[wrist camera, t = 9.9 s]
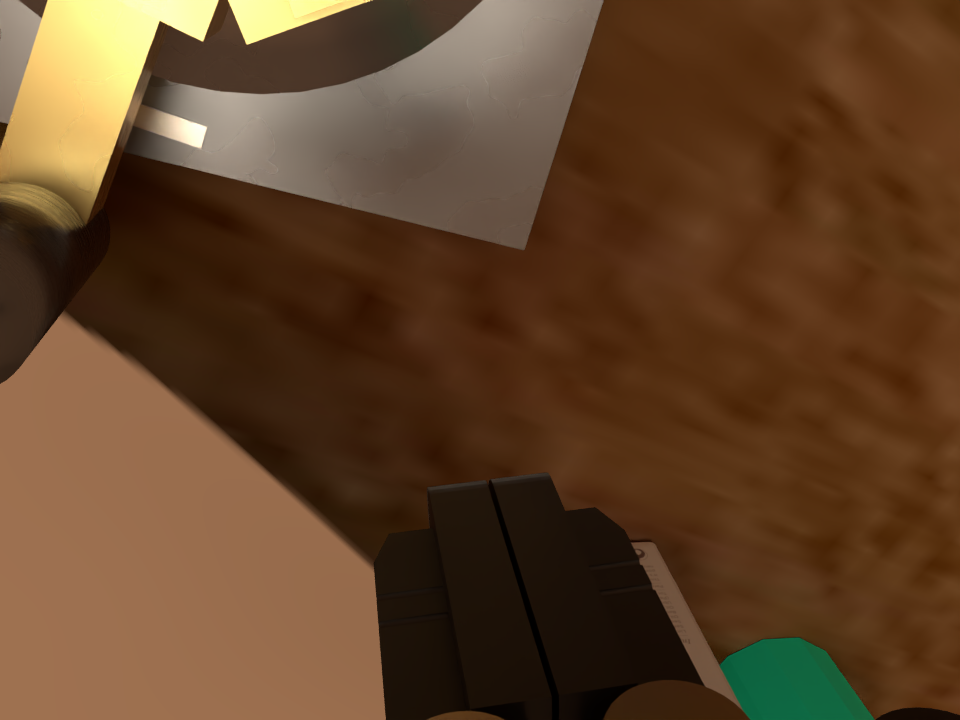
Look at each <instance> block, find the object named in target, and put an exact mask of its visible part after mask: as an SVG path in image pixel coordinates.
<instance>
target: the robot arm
mask: <svg viewBox="0 0 960 720" xmlns="http://www.w3.org/2000/svg"><path fill="white" fill-rule="evenodd" d="M427 501H428V514H429V526H430V529H423V530H415V531H407V532H399V533H391V534H389V535H388V537H387V539H386V541H385V543H384V545H383V546H382V548H381V550H380V552H379V554H378V556H377V558H376V560H375V562H374V573H375V585H376V597H377V611H378V623H379V636H380V650H381V661H382V675H383V688H384V699H385V700H384V701H385V713H386V720H750V719H749V717H748V716H747V715H746V714H745V712H744V711H743V710H742V709H740V708H739V707H738V706H737V705H736V704H735V703H734V702H732V701H731V700H730V699H728V698H727V697H725V696H724V695H722V694H720V693H718V692H716V691H714V690H712V689H710V688H707V687H706V686H705V685H704V683H703V682H702V680H701V678H700V676H699V674H698V672H697V670H696V668H695V666H694V664H693V662H692V660H691V658H690V656H689V654H688V653H687V651H686V649H685V647H684V645H683V643H682V641H681V639H680V637H679V635H678V633H677V631H676V629H675V627H674V625H673V623H672V621H671V619H670V618H669V616H668V614H667V612H666V610H665V608H664V606H663V604H662V602H661V600H660V598H659V596H658V594H657V592H656V590H655V589H654V590H653V588H652V583H651V581H650V579H649V577H648V575H647V573H646V571H645V569H644V567H643V565H640V561H639V557H638V555H637V553H636V552H635V550H634V548H633V546H632V544H631V542H630V540H629V538H628V536H627V534H626V532H625V530H624V529H622V528H621V527H620V526H619V525H617V524H616V523H615V522H613V521H612V520H611V519H610V518H608V517H607V516H606V515H604V514H603V513H602V512H601V511H599V510H598V509H597V508H595V507H594V508H586V509H578V510H570V511H565V510H564V507H563V505H562V503H561V500H560V498H559V496H558V493H557V491H556V488H555V486H554V484H553V481H552V479H551V477H550V475H549V474H548V473H539V474H531V475H523V476H514V477H506V478H498V479H490V480H489V483H488V484H487V482H486V481H485V480H483V481H475V482H467V483H459V484H450V485H442V486H434V487H427ZM876 720H960V715H957V714H954V713H950V712H947V711H942V710H937V709H932V708H903V709H899V710H894V711H891V712H889V713H886V714H884V715H882V716H880V717H879V718H877V719H876Z"/></svg>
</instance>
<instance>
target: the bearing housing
mask: <svg viewBox="0 0 960 720" xmlns="http://www.w3.org/2000/svg"><path fill="white" fill-rule="evenodd" d="M47 1H48V0H0V122H3V123H7V124H9V121H10V118H11V115H12V112H13V108H14V105H15V102H16V99H17V96H18V93H19V90H20V86H21V83H22V80H23V77H24V74H25V71H26V67H27V64H28V61H29V58H30V55H31V52H32V49H33V45H34V42H35V39H36V36H37V33H38V30H39V26H40V23H41V20H42V17H43V14H44V11H45V7H46V4H47ZM602 4H603V0H371V1H368V2H365V3H362V4H359V5H357V6H354V7H351V8H348V9H345V10H343V11H340V12H337V13H334V14H331V15H329V16H326V17H323V18H320V19H317V20H315V21H312V22H309V23H306V24H303V25H301V26H298V27H295V28H292V29H289V30H287V31H284V32H281V33H278V34H275V35H273V36H270V37H267V38H264V39H261V40H259V41H256V42H253V43H250V44H246V42H245V39H244V37H243V34H242V32H241V29H240V27H239V25H238V22H237V20H236V17H235V15H234V13H233V10H232V8H231V5H230V7H229V10H228V12H227V15H226V18H225V20H224V23H223V26H222V28H221V31H219V32H218V33H216V34H214V35H213V36H211V37H209V38H208V39H206V40H205V41H201V40H199V39H197V38H195V37H193V36H190V35H188V34H186V33H184V32H182V31H180V30H178V29H176V28H174V27H172V26H170V25H169V28H168V30H167V33H166V36H165V39H164V41H163V44H162V47H161V50H160V52H159V55H158V58H157V61H156V63H155V66H154V69H153V72H152V74H151V77H150V80H149V83H148V85H147V88H146V91H145V94H144V97H143V99H142V102H141V105H140V108H139V110H138V113H137V116H136V119H135V121H134V124H133V127H132V130H131V132H130V135H129V138H128V141H127V143H126V146H125V149H124V152H126V153H130V154H134V155H138V156H142V157H146V158H150V159H154V160H158V161H162V162H167V163H171V164H175V165H179V166H183V167H187V168H191V169H195V170H199V171H203V172H207V173H211V174H215V175H220V176H224V177H228V178H232V179H236V180H240V181H244V182H248V183H252V184H256V185H260V186H264V187H268V188H273V189H277V190H281V191H285V192H289V193H293V194H297V195H301V196H305V197H309V198H313V199H317V200H321V201H326V202H330V203H334V204H338V205H342V206H346V207H350V208H354V209H358V210H362V211H366V212H370V213H374V214H379V215H383V216H387V217H391V218H395V219H399V220H403V221H407V222H411V223H415V224H419V225H423V226H427V227H432V228H436V229H440V230H444V231H448V232H452V233H456V234H460V235H464V236H468V237H472V238H476V239H480V240H485V241H489V242H493V243H497V244H501V245H505V246H509V247H513V248H517V249H521V250H525V246H526V243H527V240H528V237H529V234H530V231H531V228H532V224H533V221H534V218H535V215H536V212H537V209H538V205H539V202H540V199H541V196H542V193H543V190H544V187H545V183H546V180H547V177H548V174H549V171H550V168H551V164H552V161H553V158H554V155H555V152H556V149H557V146H558V142H559V139H560V136H561V133H562V130H563V127H564V123H565V120H566V117H567V114H568V111H569V108H570V105H571V101H572V98H573V95H574V92H575V89H576V86H577V82H578V79H579V76H580V73H581V70H582V67H583V64H584V60H585V57H586V54H587V51H588V48H589V45H590V41H591V38H592V35H593V32H594V29H595V26H596V23H597V19H598V16H599V13H600V10H601V7H602Z"/></svg>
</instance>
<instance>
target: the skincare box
mask: <svg viewBox="0 0 960 720" xmlns="http://www.w3.org/2000/svg"><path fill="white" fill-rule="evenodd" d="M631 544H632V546H633V548H634V550H635V552H636V553H637V555H638V557H639V561H640V565H643V567H644V569H645V571H646V573H647V575H648V577H649V579H650V581H651V583H652V588H653V590H654V589H655V590H656V592H657V594H658V596H659V598H660V600H661V602H662V604H663V606H664V608H665V610H666V612H667V614H668V616H669V618H670V619H671V621H672V623H673V625H674V627H675V629H676V631H677V633H678V635H679V637H680V639H681V641H682V643H683V645H684V647H685V649H686V651H687V653H688V654H689V656H690V658H691V660H692V662H693V664H694V666H695V668H696V670H697V672H698V674H699V676H700V678H701V680H702V682H703V683H704V685H705V686H706V687H707V688H710V689H712V690H714V691H716V692H718V693H720V694H722V695H724V696H725V697H727V698H728V699H730V700H731V701H732V702H734V703H735V704H736V705H737V706H738V707H739V708H740V709H742V708H741V706H740V704H739V702H738V700H737V698H736V696H735V694H734V692H733V690H732V689H731V687H730V685H729V683H728V681H727V679H726V677H725V676H724V674H723V672H722V670H721V668H720V666H719V664H718V662H717V660H716V659H715V657H714V655H713V653H712V651H711V649H710V647H709V645H708V644H707V642H706V640H705V638H704V636H703V634H702V632H701V630H700V628H699V626H698V624H697V623H696V621H695V619H694V617H693V615H692V613H691V611H690V609H689V607H688V605H687V603H686V602H685V600H684V598H683V596H682V594H681V592H680V590H679V588H678V586H677V584H676V583H675V581H674V579H673V577H672V575H671V573H670V571H669V570H668V568H667V566H666V564H665V562H664V560H663V558H662V556H661V554H660V553H659V551H658V549H657V547H656V545H655V544H654V543H652V542H634V543H631Z"/></svg>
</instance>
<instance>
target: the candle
mask: <svg viewBox="0 0 960 720" xmlns="http://www.w3.org/2000/svg"><path fill="white" fill-rule="evenodd" d="M720 668H721V670H722V672H723V674H724V676H725V677H726V679H727V681H728V683H729V685H730V687H731V689H732V690H733V692H734V694H735V696H736V698H737V700H738V702H739V704H740V706H741V708H742V710H743V711H744V712H745V714H746V715H747V716H748V717H749V719H750V720H874V718H873V717H872V715H871V714H870V713H869V711H868V710H867V708H866V707H865V706H864V704H863V703H862V701H861V700H860V699H859V697H858V696H857V694H856V693H855V692H854V690H853V689H852V687H851V686H850V685H849V683H848V682H847V680H846V679H845V677H844V676H843V675H842V673H841V672H840V670H839V669H838V668H837V666H836V665H835V663H834V662H833V661H832V659H831V658H830V656H829V655H828V654H827V652H826V651H825V650H823V649H821V648H819V647H817V646H815V645H813V644H811V643H809V642H807V641H805V640H803V639H801V638H780V639H763V640H761V641H759V642H756V643H754V644H752V645H750V646H748V647H746V648H744V649H742V650H740V651H738V652H736V653H734V654H732V655H729V656H728V657H727V658H726V659H725V660H724V661H723V662H722V663H721V664H720Z"/></svg>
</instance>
